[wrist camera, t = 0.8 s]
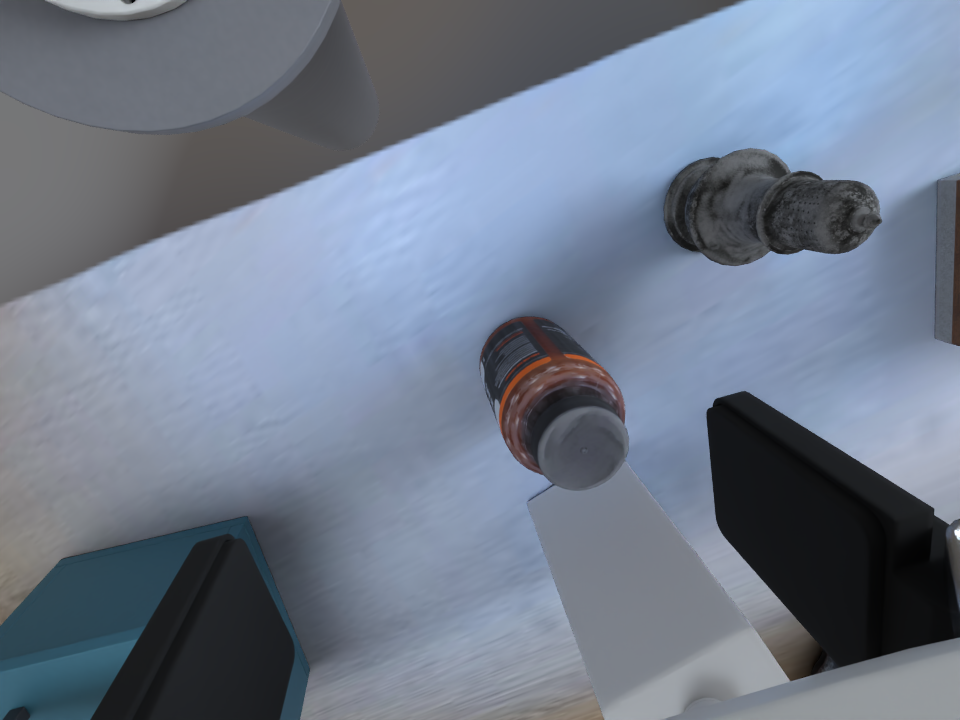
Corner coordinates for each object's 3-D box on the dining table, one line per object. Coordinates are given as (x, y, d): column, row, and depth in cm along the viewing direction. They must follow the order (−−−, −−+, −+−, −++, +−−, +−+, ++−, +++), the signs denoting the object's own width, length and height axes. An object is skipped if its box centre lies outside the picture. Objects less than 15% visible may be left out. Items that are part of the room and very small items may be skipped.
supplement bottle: (463, 390, 32) (490, 494, 22) (497, 300, 31) (544, 365, 20) (551, 415, 34) (616, 525, 23) (587, 330, 32) (676, 406, 21)
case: (61, 558, 33) (-58, 688, 24) (247, 515, 33) (194, 626, 25) (148, 709, 37) (74, 861, 29) (310, 669, 38) (283, 805, 30)
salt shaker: (645, 245, 31) (781, 283, 20) (678, 140, 29) (848, 115, 18) (732, 265, 32) (909, 312, 21) (769, 165, 30) (984, 157, 19)
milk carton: (658, 517, 37) (884, 825, 20) (573, 568, 38) (719, 912, 20) (614, 446, 35) (827, 723, 17) (524, 501, 36) (641, 825, 18)
